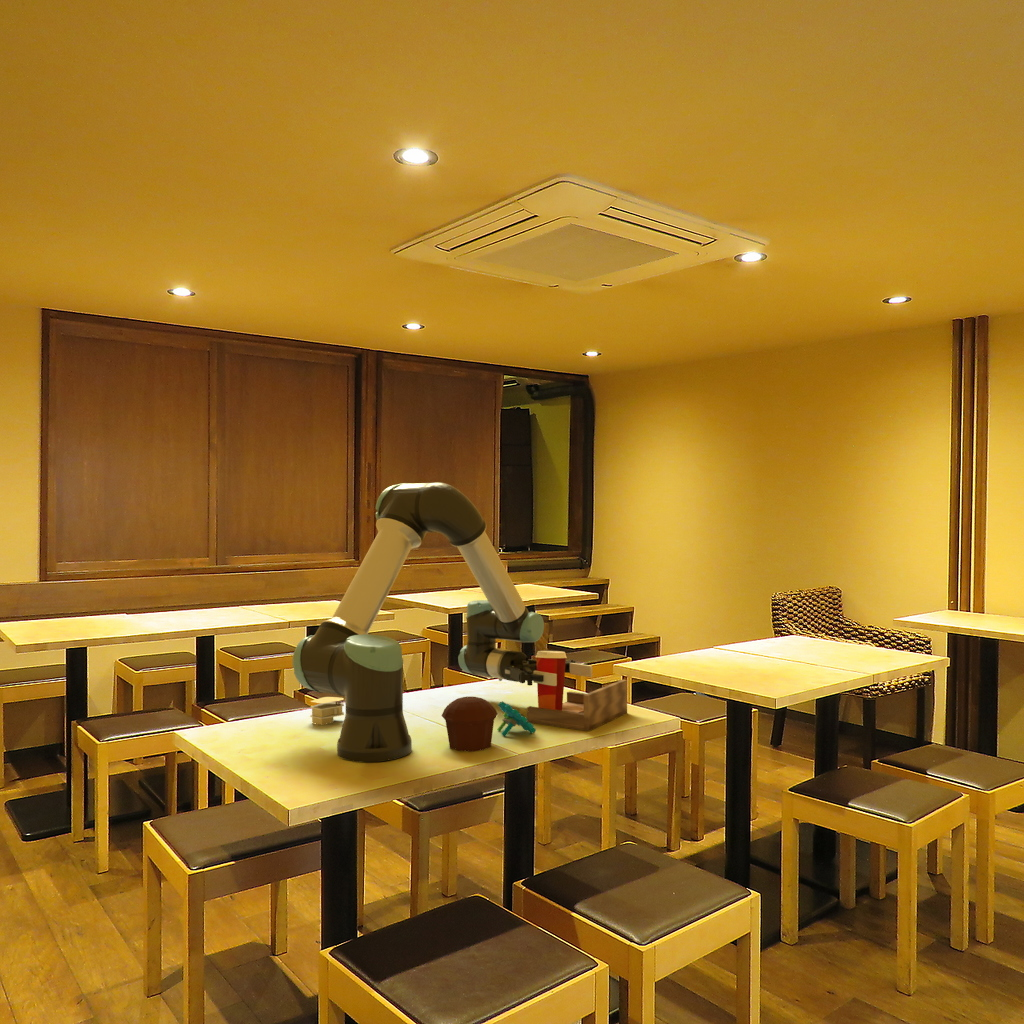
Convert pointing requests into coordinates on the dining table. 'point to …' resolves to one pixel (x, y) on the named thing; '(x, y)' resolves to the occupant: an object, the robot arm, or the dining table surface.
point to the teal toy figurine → (513, 719)
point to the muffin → (469, 724)
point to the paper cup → (553, 664)
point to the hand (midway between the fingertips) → (574, 675)
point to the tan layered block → (326, 710)
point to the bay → (585, 708)
